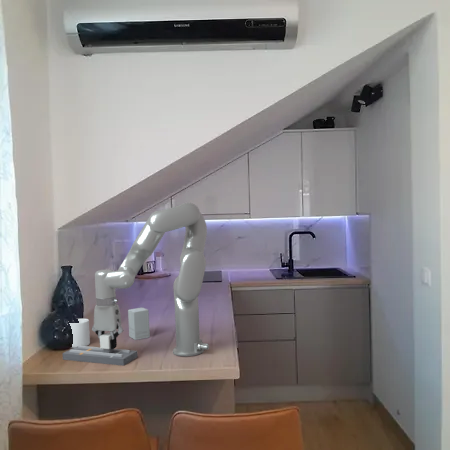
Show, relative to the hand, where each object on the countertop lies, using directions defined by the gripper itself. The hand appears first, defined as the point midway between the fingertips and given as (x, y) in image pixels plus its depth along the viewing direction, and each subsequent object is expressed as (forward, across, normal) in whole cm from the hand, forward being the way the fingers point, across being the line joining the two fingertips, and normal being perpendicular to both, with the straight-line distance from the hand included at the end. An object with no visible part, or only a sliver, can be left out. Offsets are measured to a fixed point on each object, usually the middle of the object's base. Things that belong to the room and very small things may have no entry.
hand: (108, 347), depth 186 cm
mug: (+5, +25, -12) cm, 28 cm away
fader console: (+5, +4, 0) cm, 6 cm away
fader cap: (+2, 0, 0) cm, 2 cm away
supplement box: (+5, +4, -30) cm, 31 cm away
